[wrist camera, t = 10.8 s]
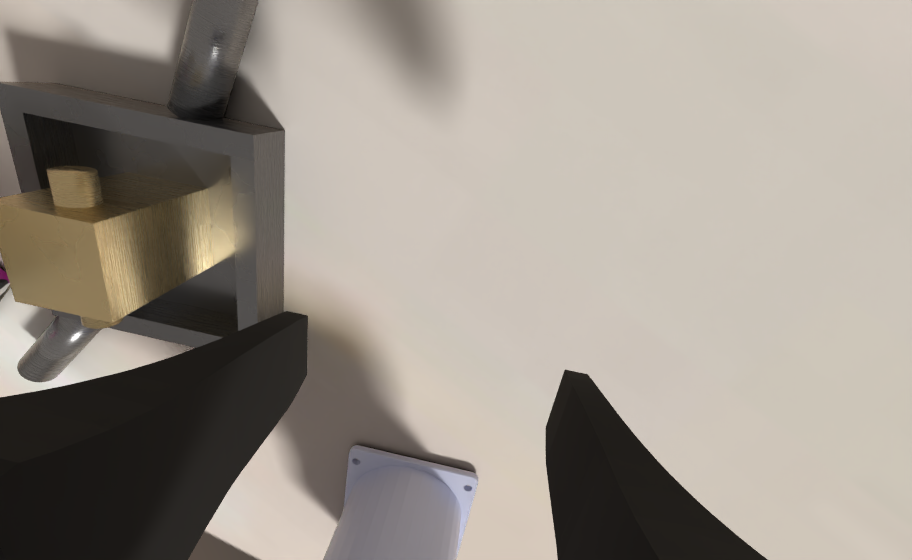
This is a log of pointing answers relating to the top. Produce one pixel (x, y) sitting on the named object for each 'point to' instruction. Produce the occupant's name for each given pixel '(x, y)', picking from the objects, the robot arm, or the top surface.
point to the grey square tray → (180, 160)
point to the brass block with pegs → (103, 242)
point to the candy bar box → (4, 283)
